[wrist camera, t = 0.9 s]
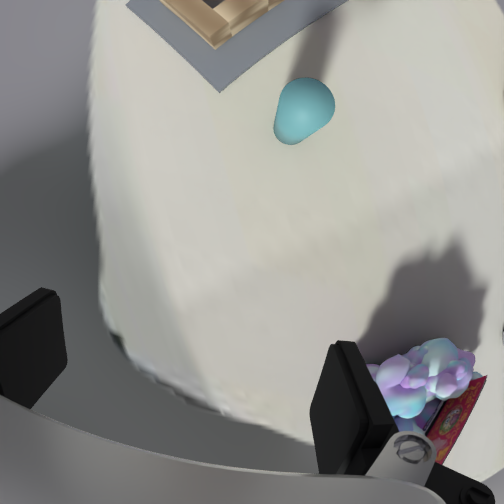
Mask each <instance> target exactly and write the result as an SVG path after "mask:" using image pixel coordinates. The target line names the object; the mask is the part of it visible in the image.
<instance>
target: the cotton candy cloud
mask: <svg viewBox="0 0 504 504" xmlns="http://www.w3.org/2000/svg"><path fill="white" fill-rule="evenodd" d="M474 364H475V355H474V354H473V353H471V352H469V351H463V350H461V349H459V348H457V347H456V346H455V345H454V344H453V343H452V342H451V341H450V340H449V339H448V338H437V339H433V340H428V341H426V342H424V343H423V344H422V345H421V346H415V347H412V348H411V349H410V350H409V352H408V353H406V354H403V355H399V354H398V355H396V356H394V357H392V358H389V359H387V360H386V361H384V362H383V363H382V364H381V365H380V366H379V365H377V364H366V365H367V368H368V370H369V372H370V374H371V376H372V378H373V380H374V381H375V382H376V383H377V385H378V387H379V389H380V391H381V393H382V395H383V397H384V399H385V401H386V404H387V406H388V408H389V410H390V412H391V414H392V416H393V419H394V421H395V423H396V425H397V427H398V429H399V432H401V431H414V432H417V433H420V434H422V435H424V436H426V437H427V438H428V439H430V440H431V441H432V442H433V444H434V446H435V447H436V451H437V456H436V460H435V462H437V463H439V464H441V465H442V464H443V463H444V461H445V459H446V458H447V456H448V454H449V453H450V451H451V449H452V447H453V446H454V444H455V442H456V440H457V439H458V437H459V435H460V433H461V431H462V429H463V427H464V426H465V424H466V422H467V420H468V418H469V416H470V414H471V412H472V410H473V408H474V406H475V404H476V402H477V400H478V398H479V396H480V393H481V391H482V389H483V387H484V385H485V382H486V378H487V375H486V376H482V375H481V374H480V373H478V372H473V370H474V369H473V366H474Z"/></svg>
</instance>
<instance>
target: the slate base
mask: <svg viewBox="0 0 504 504" xmlns="http://www.w3.org/2000/svg"><path fill="white" fill-rule="evenodd" d="M202 1H203V2H205V3H206V4H207V5H208V6H210V7H211V8H212V9H213V8H215V7H216V6H218V5H219V4H220V3H222V2H223V1H225V0H202ZM346 1H348V0H284V1H283V2H281V3H280V4H278V5H277V6H275V7H274V8H272V9H271V10H269V11H268V12H266V13H265V14H263V15H262V16H260V17H259V18H257V19H256V20H255V21H253V22H252V23H250V24H249V25H248V26H246V27H245V28H243V29H242V30H241V31H239V32H238V33H237V34H235V35H234V36H233V37H231V38H230V39H229V40H227V41H226V42H225V43H224V44H222V45H221V46H220V47H219V48H217V49H216V50H215V49H214V48H213V47H212V46H211V45H209V44H208V43H207V42H206V41H205V40H204V39H203V38H202V37H201V36H200V35H198V34H197V33H196V32H195V31H194V30H193V29H192V28H190V27H189V26H188V25H187V24H186V23H185V22H184V21H182V20H181V19H180V18H179V17H178V16H177V15H175V14H174V13H173V12H172V11H171V10H169V9H168V8H167V7H166V6H164V5H163V4H162V3H161V2H160V0H130V1H129V2H128V3H127V4H126V6H127V7H128V8H129V9H130V10H131V11H132V12H134V13H135V14H136V15H137V16H138V17H139V18H141V19H142V20H143V21H144V22H145V23H146V24H147V25H149V26H150V27H151V28H152V29H153V30H154V31H155V32H156V33H157V34H159V35H160V36H161V37H162V38H163V39H164V40H165V41H166V42H167V43H168V44H169V45H171V46H172V47H173V48H174V49H175V50H176V51H177V52H178V53H179V54H180V55H181V56H182V57H183V58H184V59H185V60H186V61H187V62H189V63H190V64H191V65H192V66H193V67H194V68H195V69H196V70H197V71H198V72H199V73H200V74H201V75H202V76H203V77H204V78H205V79H206V80H207V81H208V82H209V83H210V84H211V85H212V86H213V87H214V88H215V89H216V90H217V91H218V92H219V93H220V92H221V91H222V90H223V89H225V88H226V87H227V86H228V85H229V84H231V83H232V82H233V81H234V80H236V79H237V78H238V77H239V76H240V75H242V74H243V73H244V72H245V71H247V70H248V69H249V68H250V67H252V66H253V65H254V64H256V63H257V62H258V61H259V60H261V59H262V58H263V57H265V56H266V55H267V54H269V53H270V52H271V51H273V50H274V49H275V48H277V47H278V46H280V45H281V44H282V43H284V42H285V41H287V40H288V39H289V38H291V37H292V36H294V35H295V34H297V33H298V32H299V31H301V30H302V29H304V28H305V27H307V26H308V25H310V24H311V23H313V22H314V21H316V20H317V19H319V18H320V17H322V16H324V15H325V14H327V13H328V12H330V11H331V10H333V9H335V8H336V7H338V6H340V5H341V4H343V3H345V2H346Z"/></svg>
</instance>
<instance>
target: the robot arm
mask: <svg viewBox="0 0 504 504" xmlns="http://www.w3.org/2000/svg"><path fill="white" fill-rule="evenodd" d="M66 365H67V353H66V346H65V339H64V332H63V323H62V314H61V303H60V298H59V296H57V294H56V292H55V291H53V290H50V289H45V288H42V287H41V288H39V289H38V290H36V291H34V292H33V293H31V294H30V295H28V296H27V297H25V298H24V299H22V300H20V301H19V302H17V303H16V304H15V305H13V306H11V307H10V308H8V309H7V310H5V311H4V312H2V313H1V314H0V504H495V499H494V495H493V493H492V491H491V490H490V489H489V488H488V487H487V486H485V485H484V484H482V483H481V482H478V481H476V480H474V479H471V478H469V477H467V476H465V475H462V474H460V473H458V472H456V471H454V470H452V469H449V468H447V467H445V466H443V465H441V464H439V463H437V462H435V460H436V456H437V451H436V447H435V446H434V444H433V442H432V441H431V440H430V439H428V438H427V437H426V436H424V435H422V434H420V433H417V432H414V431H401V432H399V429H398V427H397V425H396V423H395V421H394V419H393V416H392V414H391V412H390V410H389V408H388V406H387V404H386V401H385V399H384V397H383V395H382V393H381V391H380V389H379V387H378V385H377V383H376V382H375V381H374V380H373V378H372V376H371V374H370V372H369V370H368V368H367V365H366V363H365V361H364V359H363V357H362V355H361V353H360V351H359V349H358V347H357V345H356V343H355V342H351V341H339V340H338V341H337V342H336V343H335V344H331V345H330V347H329V350H328V353H327V356H326V360H325V363H324V366H323V369H322V373H321V376H320V379H319V382H318V385H317V388H316V391H315V394H314V397H313V400H312V403H311V406H310V421H311V426H312V432H313V438H314V444H315V450H316V456H317V462H318V468H319V474H309V473H289V472H274V471H262V470H253V469H244V468H235V467H228V466H221V465H215V464H208V463H202V462H197V461H191V460H186V459H181V458H177V457H172V456H167V455H163V454H159V453H155V452H151V451H147V450H143V449H139V448H135V447H131V446H128V445H125V444H121V443H118V442H114V441H111V440H108V439H105V438H102V437H99V436H96V435H92V434H90V433H87V432H84V431H81V430H79V429H76V428H73V427H71V426H68V425H66V424H63V423H60V422H58V421H55V420H53V419H51V418H48V417H46V416H43V415H41V414H39V413H37V412H34V411H32V410H30V409H31V408H32V407H33V406H34V404H35V403H36V402H37V401H38V399H39V398H40V397H41V396H42V395H43V393H44V392H45V391H46V390H47V389H48V388H49V386H50V385H51V384H52V383H53V382H54V381H55V379H56V378H57V377H58V376H59V375H60V374H61V372H62V371H63V370H64V369H65V367H66Z"/></svg>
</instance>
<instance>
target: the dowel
mask: <svg viewBox="0 0 504 504" xmlns="http://www.w3.org/2000/svg"><path fill="white" fill-rule="evenodd" d="M334 111H335V101H334V97H333V95H332V93H331V91H330V90H329V88H328V87H327V86H326V85H325V84H323V83H322V82H320V81H318V80H316V79H313V78H298V79H295V80H293V81H291V82H290V83H288V84H287V85H286V86H285V87H284V89H283V90H282V92H281V95H280V98H279V103H278V108H277V112H276V117H275V121H274V127H273V129H274V134H275V136H276V137H277V139H278V140H279V141H281V142H282V143H284V144H288V145H294V144H297V143H300V142H301V141H303V140H304V139H305V138H307V137H308V136H310V135H311V134H313V133H314V132H316V131H317V130H319V129H320V128H322V127H323V126H325V125H326V124H327V123H328V122H329V121H330V120H331V118H332V116H333V114H334Z"/></svg>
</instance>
